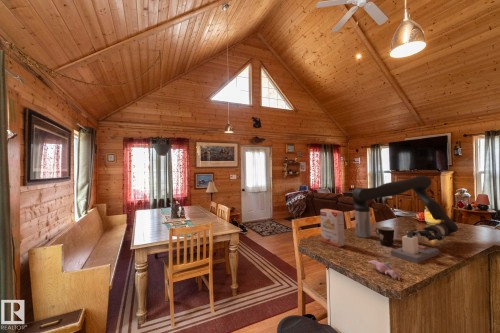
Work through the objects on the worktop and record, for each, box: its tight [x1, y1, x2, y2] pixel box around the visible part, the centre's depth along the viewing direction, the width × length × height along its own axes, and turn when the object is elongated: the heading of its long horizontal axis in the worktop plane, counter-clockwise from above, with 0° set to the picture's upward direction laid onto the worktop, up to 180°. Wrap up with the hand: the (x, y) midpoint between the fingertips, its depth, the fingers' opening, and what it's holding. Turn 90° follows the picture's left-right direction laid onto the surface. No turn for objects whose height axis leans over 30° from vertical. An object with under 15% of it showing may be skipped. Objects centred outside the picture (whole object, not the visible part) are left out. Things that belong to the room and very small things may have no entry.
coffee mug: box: [374, 226, 395, 248], centre depth 134 cm, size 12×9×10 cm
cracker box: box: [319, 208, 346, 248], centre depth 139 cm, size 14×6×21 cm, turn 27°
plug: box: [401, 230, 419, 255], centre depth 114 cm, size 5×5×13 cm
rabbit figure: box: [367, 259, 405, 281], centre depth 97 cm, size 6×6×15 cm
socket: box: [390, 244, 440, 264], centre depth 116 cm, size 22×12×3 cm, turn 118°
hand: (419, 236), depth 119 cm, fingers open, 8 cm apart
